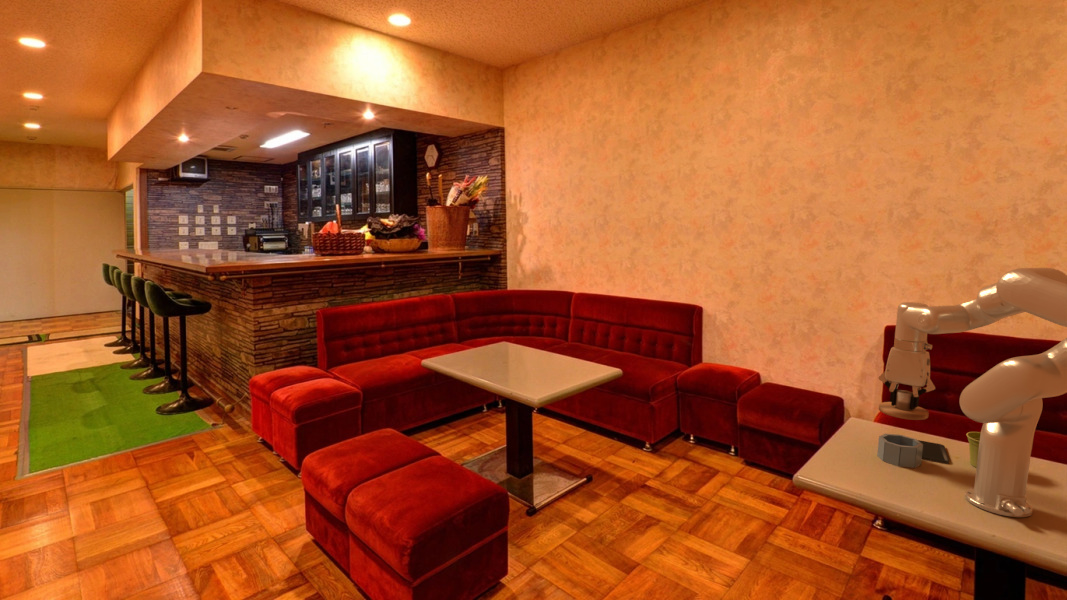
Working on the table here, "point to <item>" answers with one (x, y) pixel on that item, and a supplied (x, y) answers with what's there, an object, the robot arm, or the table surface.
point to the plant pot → (973, 446)
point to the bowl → (900, 450)
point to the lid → (903, 407)
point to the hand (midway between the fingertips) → (903, 406)
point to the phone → (934, 452)
